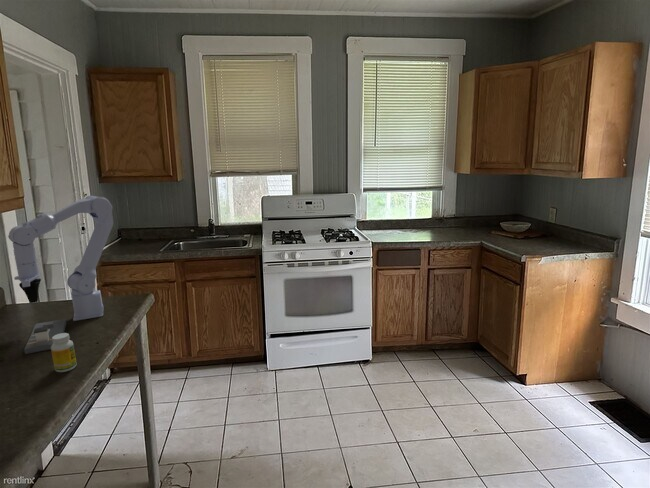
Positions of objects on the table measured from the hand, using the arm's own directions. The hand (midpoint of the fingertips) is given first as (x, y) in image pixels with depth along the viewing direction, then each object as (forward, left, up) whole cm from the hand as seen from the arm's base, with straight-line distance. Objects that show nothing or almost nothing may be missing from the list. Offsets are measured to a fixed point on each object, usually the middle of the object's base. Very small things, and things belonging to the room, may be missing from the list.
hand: (33, 301), depth 146 cm
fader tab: (-4, +17, -8) cm, 19 cm away
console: (-4, +9, -10) cm, 14 cm away
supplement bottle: (-11, +36, -10) cm, 39 cm away
